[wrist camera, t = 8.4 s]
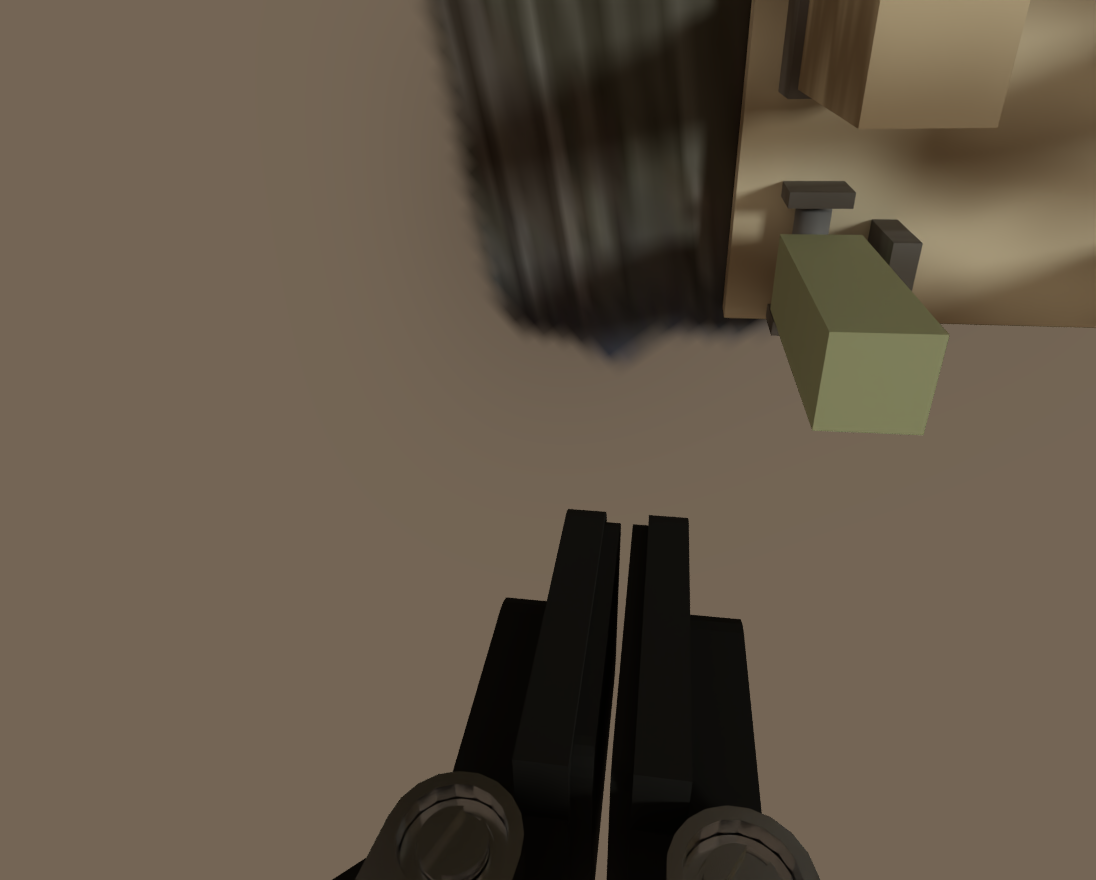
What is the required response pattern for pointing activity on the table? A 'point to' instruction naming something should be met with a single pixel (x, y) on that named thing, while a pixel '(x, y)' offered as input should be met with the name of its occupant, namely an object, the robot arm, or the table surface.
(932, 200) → the stool seat
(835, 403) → the hinged leg
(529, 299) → the table surface
